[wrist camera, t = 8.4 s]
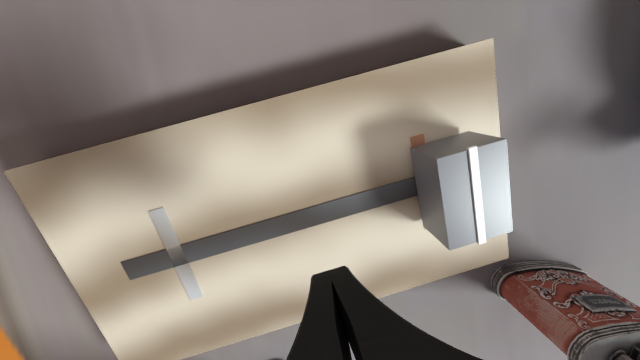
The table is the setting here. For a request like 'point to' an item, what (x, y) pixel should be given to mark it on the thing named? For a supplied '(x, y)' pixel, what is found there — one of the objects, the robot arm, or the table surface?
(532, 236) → the table surface
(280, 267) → the console board
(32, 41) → the table surface
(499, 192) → the fader
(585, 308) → the lighter
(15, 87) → the table surface
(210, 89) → the table surface
